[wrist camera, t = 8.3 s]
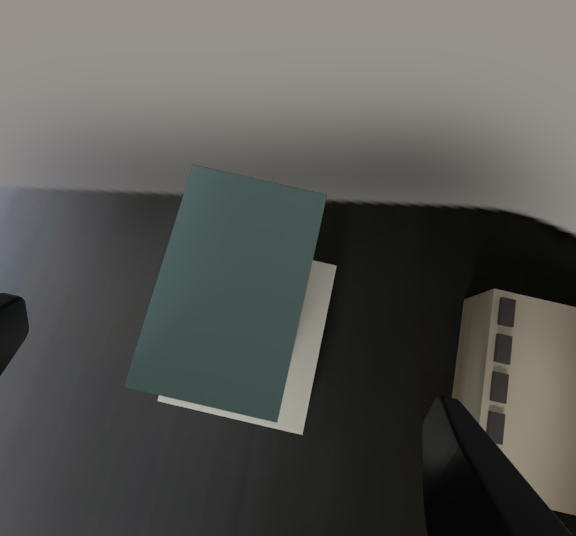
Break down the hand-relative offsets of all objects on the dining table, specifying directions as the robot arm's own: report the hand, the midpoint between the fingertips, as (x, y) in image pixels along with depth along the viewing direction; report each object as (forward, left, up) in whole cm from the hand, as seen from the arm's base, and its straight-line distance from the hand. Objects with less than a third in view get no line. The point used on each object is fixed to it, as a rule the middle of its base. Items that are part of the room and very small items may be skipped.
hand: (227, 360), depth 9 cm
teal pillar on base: (+1, -1, -8) cm, 8 cm away
